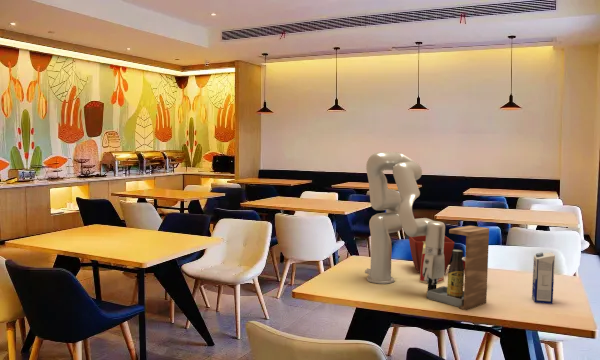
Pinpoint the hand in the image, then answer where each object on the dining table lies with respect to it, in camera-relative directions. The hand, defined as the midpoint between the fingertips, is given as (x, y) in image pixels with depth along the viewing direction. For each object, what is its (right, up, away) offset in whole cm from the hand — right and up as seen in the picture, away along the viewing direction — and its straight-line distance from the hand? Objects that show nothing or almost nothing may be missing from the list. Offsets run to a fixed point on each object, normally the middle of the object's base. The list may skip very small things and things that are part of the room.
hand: (431, 293), depth 220 cm
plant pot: (+10, +2, +42) cm, 43 cm away
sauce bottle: (+8, -1, -8) cm, 11 cm away
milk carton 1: (+5, 0, +22) cm, 23 cm away
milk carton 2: (+44, -2, -6) cm, 44 cm away
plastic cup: (+23, 0, +17) cm, 29 cm away
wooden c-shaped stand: (+11, -2, -12) cm, 16 cm away
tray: (+6, -1, -7) cm, 10 cm away
